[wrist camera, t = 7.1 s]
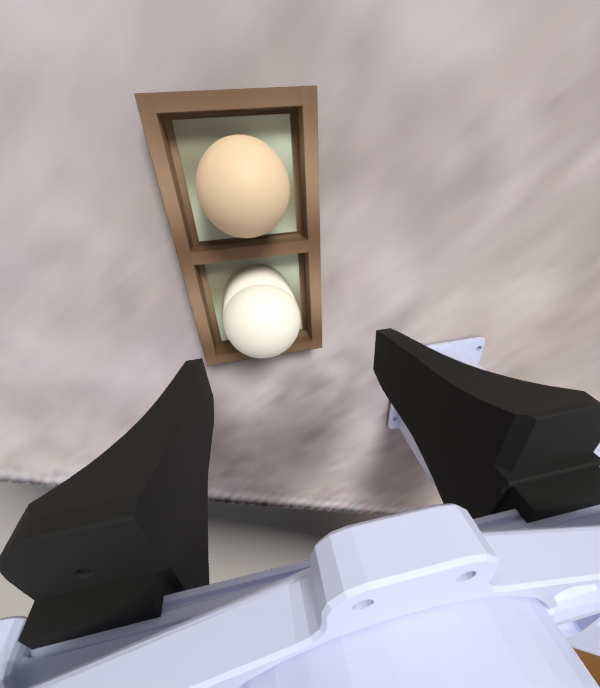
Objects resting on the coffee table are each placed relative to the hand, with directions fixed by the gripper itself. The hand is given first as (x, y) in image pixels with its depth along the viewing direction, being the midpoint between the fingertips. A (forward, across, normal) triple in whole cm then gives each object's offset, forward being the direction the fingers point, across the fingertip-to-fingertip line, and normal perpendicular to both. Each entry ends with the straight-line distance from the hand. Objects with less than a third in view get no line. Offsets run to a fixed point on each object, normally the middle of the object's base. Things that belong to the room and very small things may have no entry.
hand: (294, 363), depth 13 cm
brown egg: (+9, +1, -6) cm, 11 cm away
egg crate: (+10, +1, -2) cm, 10 cm away
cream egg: (+9, +1, +1) cm, 9 cm away
